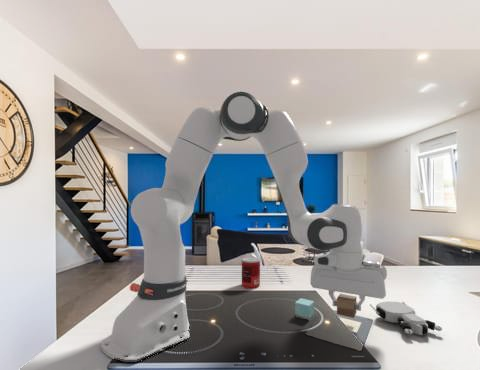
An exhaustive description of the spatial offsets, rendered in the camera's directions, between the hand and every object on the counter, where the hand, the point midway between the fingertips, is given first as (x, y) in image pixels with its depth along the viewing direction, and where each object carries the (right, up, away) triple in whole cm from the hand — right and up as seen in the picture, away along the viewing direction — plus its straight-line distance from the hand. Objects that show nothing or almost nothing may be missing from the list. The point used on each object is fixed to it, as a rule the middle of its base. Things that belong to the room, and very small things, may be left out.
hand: (346, 307), depth 77 cm
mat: (-2, -5, -1) cm, 6 cm away
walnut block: (0, -2, 0) cm, 2 cm away
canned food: (-26, -7, +34) cm, 44 cm away
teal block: (-11, -5, +6) cm, 13 cm away
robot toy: (+17, -6, 0) cm, 18 cm away
